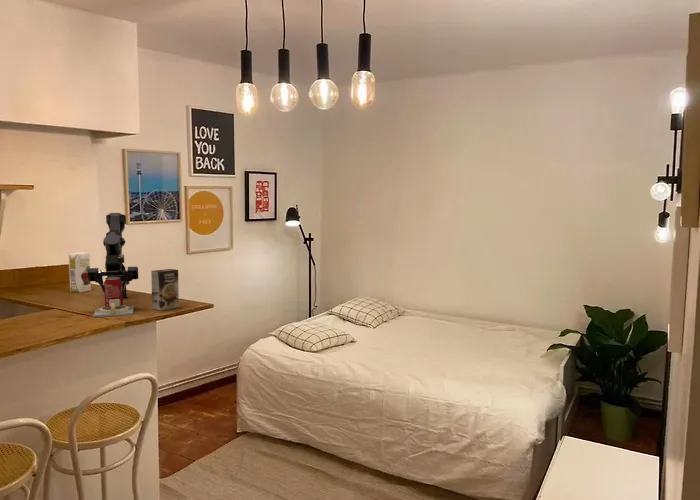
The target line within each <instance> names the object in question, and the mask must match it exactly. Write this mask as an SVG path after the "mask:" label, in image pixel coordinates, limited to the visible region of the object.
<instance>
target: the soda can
mask: <svg viewBox="0 0 700 500" xmlns="http://www.w3.org/2000/svg"><path fill="white" fill-rule="evenodd" d="M103 284H104V292H103V296H104V307H107V308H109V309H111V303H115V308H120V307H121V306H123V305H124V298H123V291H122V281H121V279H120V277H107V276H106V277H105V280H104V281H103Z"/></svg>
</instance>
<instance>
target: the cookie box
mask: <svg viewBox="0 0 700 500" xmlns="http://www.w3.org/2000/svg"><path fill="white" fill-rule="evenodd" d="M150 273H151V309H152V310H157V311H167V310H170V309H178V308H180V301H179V300H180V296H179V294H180V293H179V292H180V291H179V289H180V288H179V270H178V269H175V268H165V269H156V270H151V271H150ZM177 307H178V308H177Z"/></svg>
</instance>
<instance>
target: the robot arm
mask: <svg viewBox="0 0 700 500" xmlns="http://www.w3.org/2000/svg"><path fill="white" fill-rule="evenodd" d="M105 216H106V217H105V218H106V219H105V220H106V225H107V226H108V227H107V228H108V230H109V231H108V232H106V233H105V236H104V238H103V241H102V242H103V246H104V247H105V248H104V249H105V251H106V254H105V265H104V269H105V270H101V269H99V268H100V267H90V268H89V269H88V270H87V274H88V280H89V281H91V282H95V283H97V284H98V285H99V286H100V288H101V290H102V292H103V293H104V278H103V277H106V278H107V277H120V279H121V281H122V291H123V299H127V298H129V296H127V285H128V286H129V285H130V282H132V281H133V280H139V267H137V265H135V266H127V270H126V266H125V265H124V263H125V254H123V250H122V249H123V247H124V246H125V245H126V240H125V238H124V237H123V232H124V231H125V228H126V225H127V215H125V214H122V213H121V212H110V213H108V214H106V215H105Z"/></svg>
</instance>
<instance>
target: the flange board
mask: <svg viewBox="0 0 700 500" xmlns="http://www.w3.org/2000/svg"><path fill="white" fill-rule="evenodd" d="M133 315H134V305H131V306H130V305H126V304H123V306H121V307H120V308H115V303H111V309H109V308H107V307H105V306H100V307H98V308H96V309H95V310H94V313H93V316H92V317H93V319H94V318H108V317H123V316H133Z"/></svg>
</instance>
